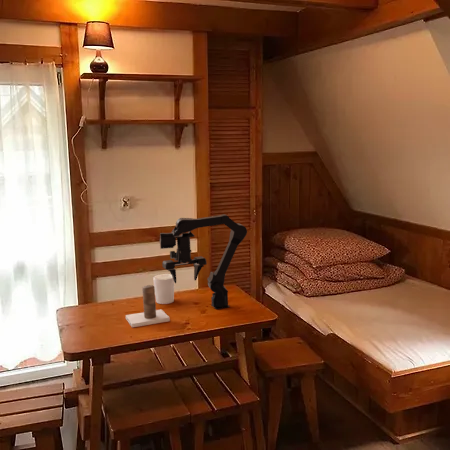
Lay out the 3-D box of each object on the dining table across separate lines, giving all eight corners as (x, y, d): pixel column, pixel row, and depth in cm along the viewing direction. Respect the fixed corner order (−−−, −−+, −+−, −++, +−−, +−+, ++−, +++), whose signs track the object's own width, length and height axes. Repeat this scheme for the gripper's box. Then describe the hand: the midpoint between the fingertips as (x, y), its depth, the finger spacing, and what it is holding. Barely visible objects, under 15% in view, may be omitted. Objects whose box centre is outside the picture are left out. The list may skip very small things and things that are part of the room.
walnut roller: (156, 314, 229) (154, 284, 226) (155, 318, 224) (153, 288, 222) (144, 315, 228) (142, 285, 226) (143, 318, 223) (141, 288, 221)
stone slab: (161, 312, 235) (161, 309, 235) (169, 320, 224) (169, 317, 224) (125, 318, 229) (125, 315, 229) (132, 327, 218) (131, 323, 218)
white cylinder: (157, 298, 257) (156, 273, 255) (177, 298, 255) (176, 274, 253) (152, 304, 247) (150, 279, 245) (172, 304, 246) (171, 279, 244)
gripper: (197, 241, 244) (198, 274, 246) (158, 246, 236) (159, 280, 239) (206, 246, 233) (207, 280, 236) (165, 250, 226) (167, 286, 229)
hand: (185, 281), depth 235 cm, fingers open, 9 cm apart
